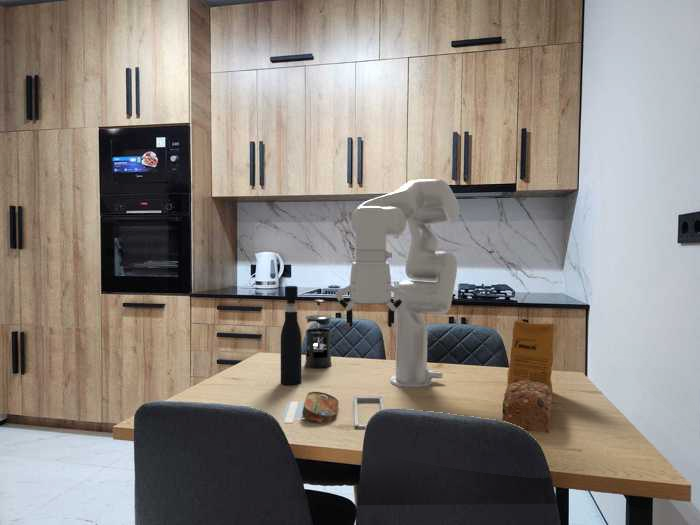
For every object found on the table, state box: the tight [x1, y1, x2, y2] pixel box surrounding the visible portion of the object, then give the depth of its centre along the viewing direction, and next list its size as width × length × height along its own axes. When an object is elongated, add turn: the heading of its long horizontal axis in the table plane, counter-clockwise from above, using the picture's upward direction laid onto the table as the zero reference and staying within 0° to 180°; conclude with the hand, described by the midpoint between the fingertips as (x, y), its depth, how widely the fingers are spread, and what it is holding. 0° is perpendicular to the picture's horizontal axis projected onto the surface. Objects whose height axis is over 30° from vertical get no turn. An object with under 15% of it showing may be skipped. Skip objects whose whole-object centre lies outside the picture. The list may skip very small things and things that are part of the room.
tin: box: [302, 391, 340, 424], centre depth 119 cm, size 15×3×8 cm
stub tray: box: [353, 396, 385, 430], centre depth 118 cm, size 8×20×2 cm, turn 0°
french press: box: [304, 298, 332, 369], centre depth 168 cm, size 12×9×23 cm
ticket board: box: [279, 401, 313, 424], centre depth 119 cm, size 8×14×1 cm, turn 0°
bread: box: [502, 380, 553, 434], centre depth 115 cm, size 19×11×10 cm, turn 155°
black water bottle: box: [280, 285, 303, 387], centre depth 145 cm, size 6×6×30 cm
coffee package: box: [506, 319, 555, 398], centre depth 134 cm, size 10×12×22 cm
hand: (370, 326), depth 118 cm, fingers open, 9 cm apart
